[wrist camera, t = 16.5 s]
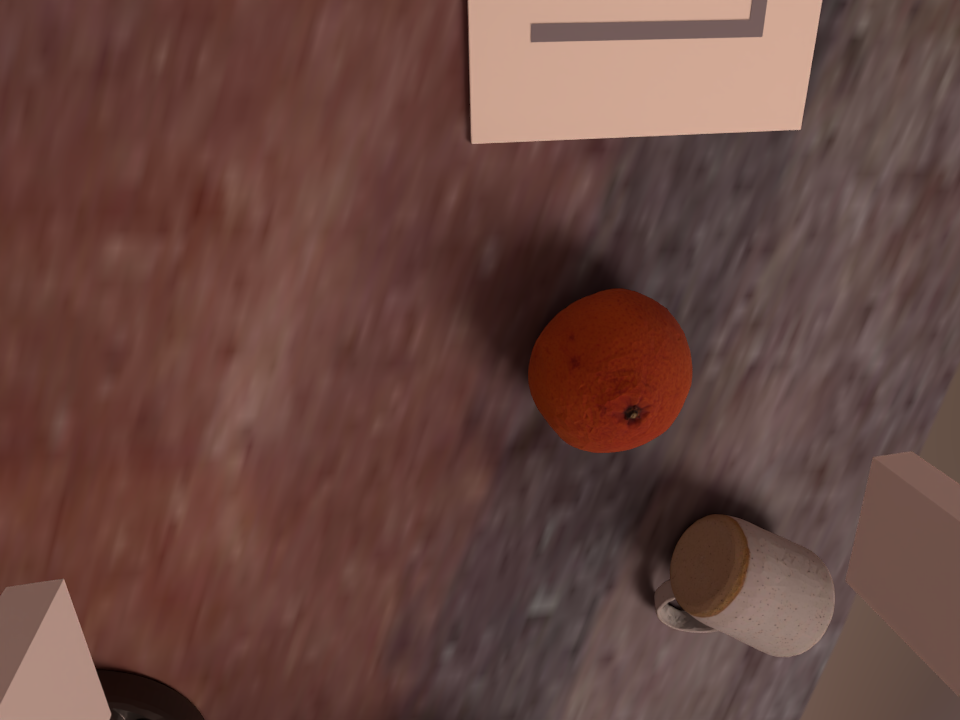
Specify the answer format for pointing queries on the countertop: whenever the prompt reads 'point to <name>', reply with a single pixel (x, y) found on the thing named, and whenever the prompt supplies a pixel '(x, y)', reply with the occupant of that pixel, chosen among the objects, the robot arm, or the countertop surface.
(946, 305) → the countertop surface
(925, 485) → the robot arm
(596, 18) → the paper
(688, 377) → the fruit
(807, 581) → the ceramic mug
